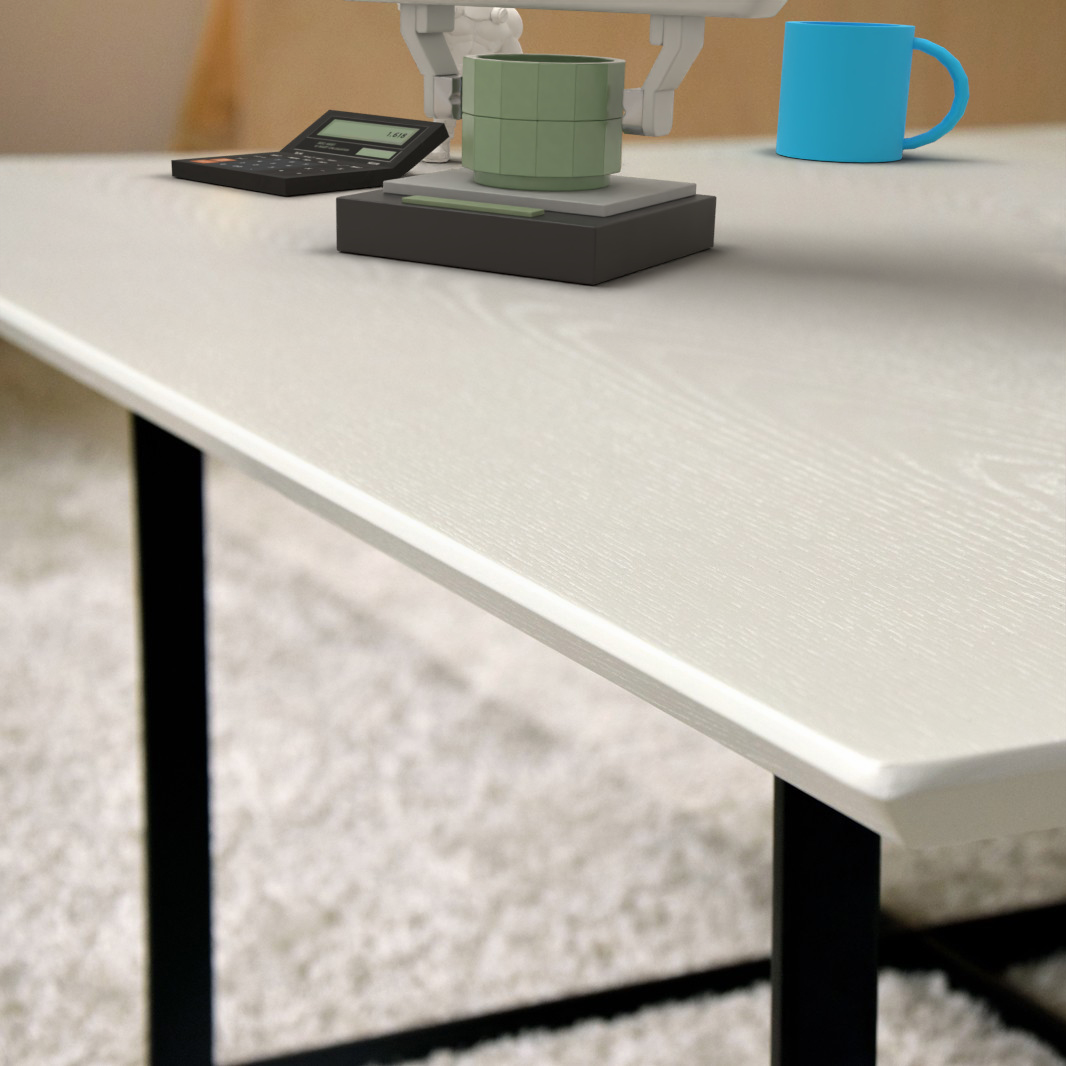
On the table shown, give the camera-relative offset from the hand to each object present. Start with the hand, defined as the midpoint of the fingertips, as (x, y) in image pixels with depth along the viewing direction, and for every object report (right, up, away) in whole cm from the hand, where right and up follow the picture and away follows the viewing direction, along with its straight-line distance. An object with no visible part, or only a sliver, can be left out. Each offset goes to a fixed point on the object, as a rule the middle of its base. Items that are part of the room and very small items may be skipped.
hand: (544, 126), depth 68 cm
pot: (0, -2, +1) cm, 2 cm away
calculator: (-12, +2, +21) cm, 25 cm away
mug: (+21, +8, +39) cm, 45 cm away
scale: (-1, -5, +1) cm, 5 cm away
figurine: (-4, +5, +30) cm, 30 cm away
